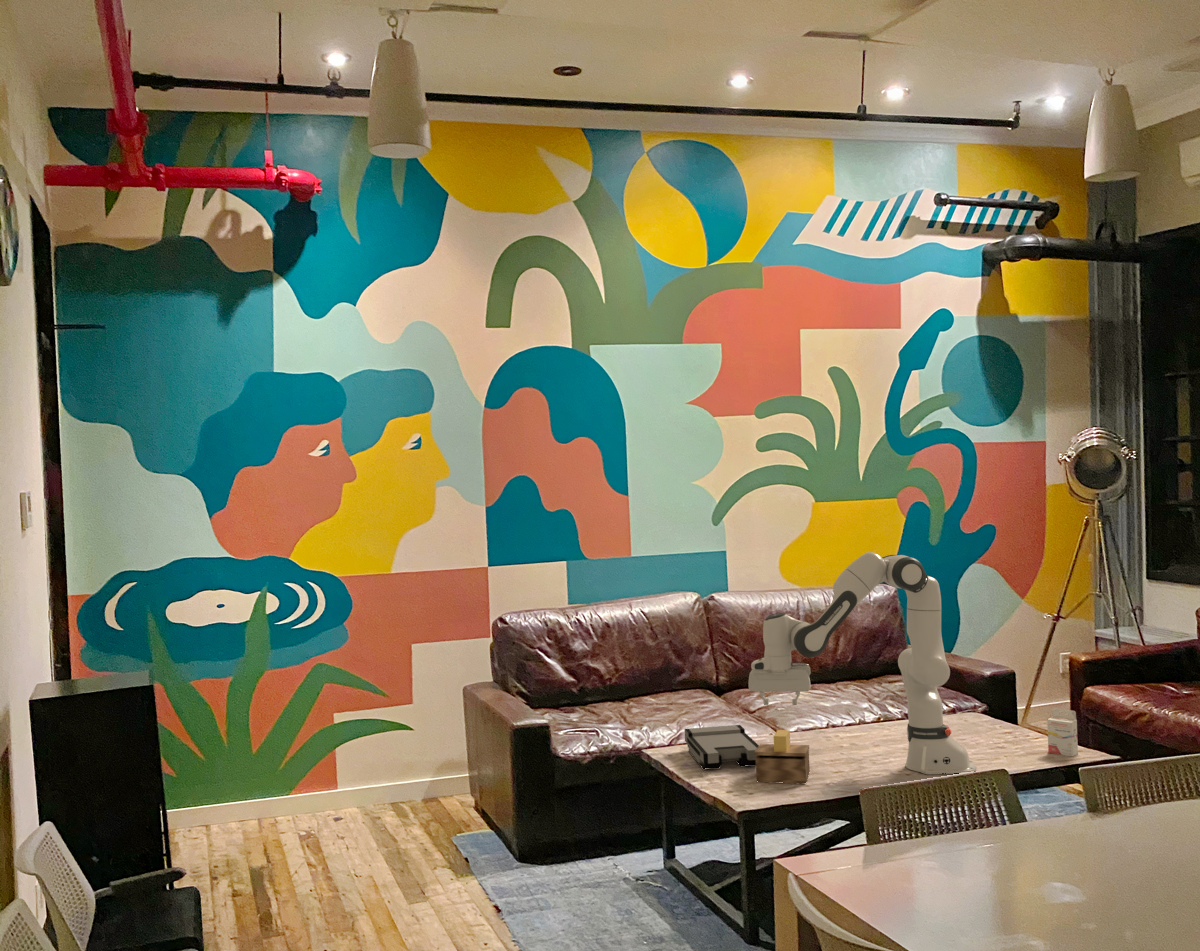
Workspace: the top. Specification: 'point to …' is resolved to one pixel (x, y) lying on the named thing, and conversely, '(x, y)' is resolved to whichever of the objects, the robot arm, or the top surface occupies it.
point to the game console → (721, 745)
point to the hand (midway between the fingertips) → (780, 704)
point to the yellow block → (781, 740)
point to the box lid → (792, 751)
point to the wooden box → (782, 768)
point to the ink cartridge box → (1062, 733)
